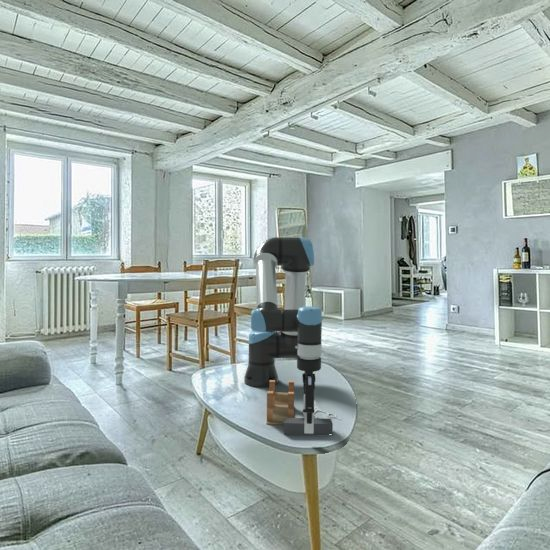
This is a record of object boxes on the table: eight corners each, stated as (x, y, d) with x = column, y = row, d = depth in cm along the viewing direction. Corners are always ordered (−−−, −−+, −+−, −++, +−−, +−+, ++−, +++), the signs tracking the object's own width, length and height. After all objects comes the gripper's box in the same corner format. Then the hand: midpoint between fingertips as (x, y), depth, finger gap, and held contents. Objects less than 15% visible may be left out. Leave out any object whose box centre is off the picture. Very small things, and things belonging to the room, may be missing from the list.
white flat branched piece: (311, 421, 129) (296, 399, 149) (311, 423, 129) (296, 401, 149) (341, 418, 131) (322, 397, 151) (340, 421, 131) (322, 399, 151)
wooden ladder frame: (269, 405, 143) (269, 379, 142) (293, 406, 142) (294, 379, 142) (266, 424, 127) (266, 394, 126) (293, 425, 126) (294, 395, 126)
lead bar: (330, 430, 123) (330, 418, 123) (332, 436, 119) (332, 423, 119) (283, 430, 123) (284, 417, 123) (284, 435, 119) (284, 423, 119)
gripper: (296, 347, 133) (296, 407, 134) (297, 367, 108) (296, 441, 109) (318, 347, 132) (317, 408, 133) (324, 368, 107) (322, 442, 108)
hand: (308, 423), depth 121 cm, fingers open, 13 cm apart
